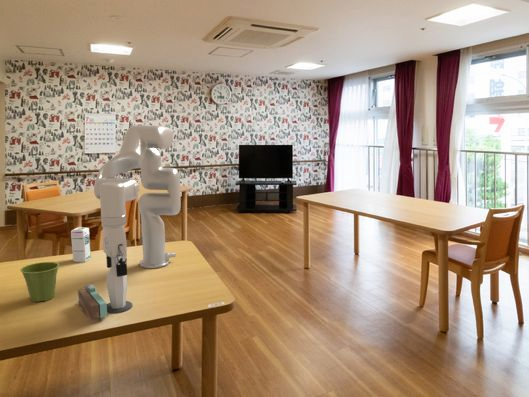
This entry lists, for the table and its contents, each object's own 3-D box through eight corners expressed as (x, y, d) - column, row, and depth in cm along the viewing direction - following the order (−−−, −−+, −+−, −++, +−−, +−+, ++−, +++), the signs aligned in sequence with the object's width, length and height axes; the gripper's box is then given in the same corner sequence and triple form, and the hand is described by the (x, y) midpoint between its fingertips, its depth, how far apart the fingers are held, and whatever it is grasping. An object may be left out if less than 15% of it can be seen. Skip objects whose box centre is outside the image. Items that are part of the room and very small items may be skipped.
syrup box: (85, 262, 181) (83, 230, 178) (72, 261, 181) (70, 230, 179) (91, 258, 187) (89, 227, 184) (78, 257, 187) (76, 227, 184)
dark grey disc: (126, 299, 142) (126, 298, 142) (136, 308, 135) (136, 307, 135) (100, 305, 136) (99, 304, 136) (108, 315, 129) (108, 314, 129)
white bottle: (129, 301, 140) (127, 238, 136) (126, 309, 133) (123, 244, 130) (110, 302, 138) (106, 239, 135) (106, 310, 132) (102, 244, 129)
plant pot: (66, 290, 149) (64, 261, 147) (53, 304, 137) (51, 272, 135) (32, 291, 148) (29, 261, 146) (16, 305, 136) (13, 273, 134)
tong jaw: (94, 301, 137) (93, 285, 136) (107, 315, 127) (106, 299, 126) (88, 302, 136) (87, 287, 135) (100, 317, 125) (99, 300, 125)
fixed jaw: (92, 299, 141) (91, 283, 140) (109, 319, 127) (108, 300, 126) (77, 303, 138) (76, 286, 137) (92, 323, 124) (91, 304, 123)
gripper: (94, 217, 135) (97, 266, 139) (110, 228, 122) (113, 282, 125) (116, 214, 140) (119, 261, 143) (135, 224, 127) (137, 276, 130)
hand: (116, 271), depth 134 cm, fingers open, 9 cm apart
